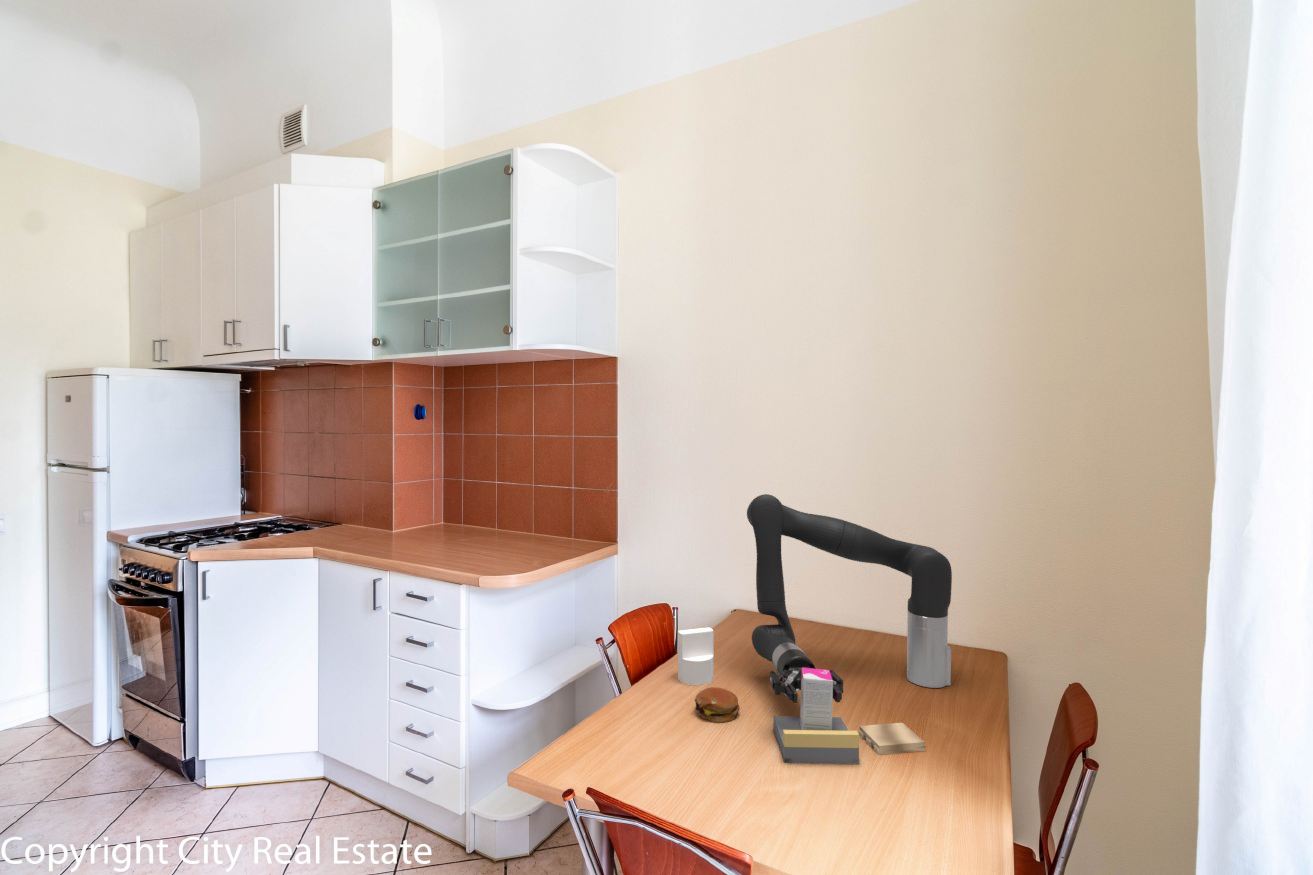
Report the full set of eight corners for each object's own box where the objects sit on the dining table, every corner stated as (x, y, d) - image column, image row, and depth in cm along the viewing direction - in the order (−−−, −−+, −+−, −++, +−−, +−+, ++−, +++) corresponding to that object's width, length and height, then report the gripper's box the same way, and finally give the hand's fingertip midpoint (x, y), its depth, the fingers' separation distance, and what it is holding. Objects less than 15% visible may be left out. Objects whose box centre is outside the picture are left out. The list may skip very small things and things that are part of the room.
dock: (840, 731, 124) (840, 705, 124) (858, 763, 112) (859, 734, 112) (773, 730, 125) (773, 704, 125) (784, 762, 113) (784, 733, 113)
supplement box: (832, 739, 115) (833, 680, 115) (801, 736, 116) (801, 678, 116) (829, 724, 121) (829, 668, 121) (799, 722, 122) (799, 666, 122)
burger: (734, 702, 137) (734, 682, 137) (743, 723, 128) (743, 701, 128) (691, 704, 137) (691, 684, 137) (697, 724, 127) (697, 703, 127)
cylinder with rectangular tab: (705, 668, 157) (705, 623, 156) (719, 682, 148) (719, 634, 148) (672, 673, 154) (673, 626, 154) (685, 687, 145) (685, 638, 145)
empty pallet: (903, 731, 125) (903, 722, 125) (925, 751, 117) (925, 741, 117) (858, 735, 123) (858, 725, 123) (878, 755, 116) (878, 745, 116)
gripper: (761, 649, 132) (781, 679, 116) (824, 647, 133) (853, 678, 117) (761, 682, 132) (781, 718, 116) (824, 681, 133) (852, 716, 117)
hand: (817, 698), depth 116 cm, fingers open, 8 cm apart
